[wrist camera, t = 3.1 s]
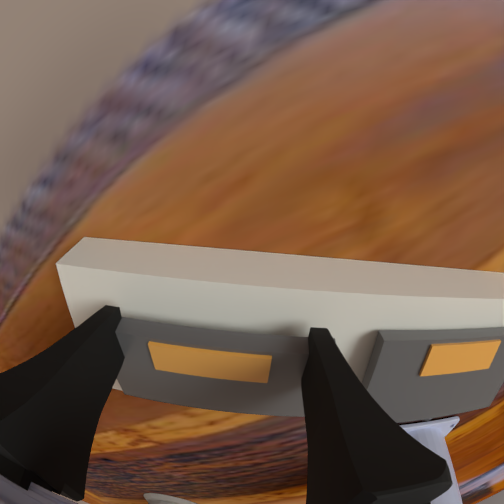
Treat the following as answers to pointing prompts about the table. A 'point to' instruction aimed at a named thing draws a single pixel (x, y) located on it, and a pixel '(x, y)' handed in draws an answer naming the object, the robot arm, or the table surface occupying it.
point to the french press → (164, 499)
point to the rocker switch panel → (276, 292)
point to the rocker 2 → (435, 371)
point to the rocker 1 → (213, 368)
